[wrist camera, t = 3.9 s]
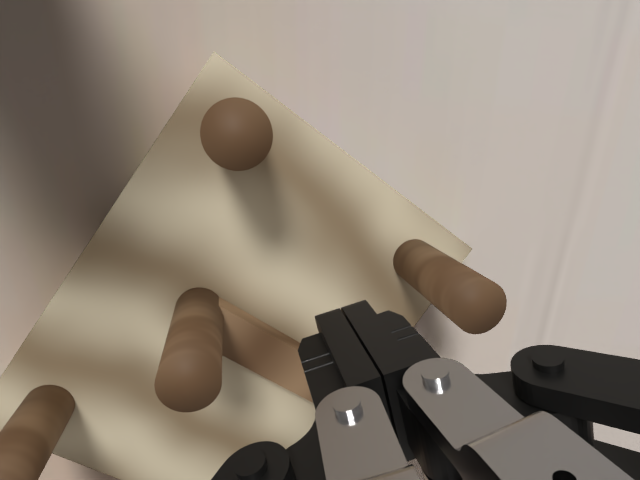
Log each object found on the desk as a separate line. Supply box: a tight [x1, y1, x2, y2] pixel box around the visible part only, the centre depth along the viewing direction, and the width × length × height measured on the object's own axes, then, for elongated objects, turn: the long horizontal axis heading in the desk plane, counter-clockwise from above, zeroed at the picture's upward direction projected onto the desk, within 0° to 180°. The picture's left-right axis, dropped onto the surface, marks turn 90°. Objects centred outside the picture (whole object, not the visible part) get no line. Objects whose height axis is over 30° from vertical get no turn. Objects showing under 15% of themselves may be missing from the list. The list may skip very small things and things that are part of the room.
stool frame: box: [0, 52, 506, 480], centre depth 22 cm, size 22×17×9 cm
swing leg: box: [154, 287, 313, 412], centre depth 21 cm, size 11×2×7 cm, turn 55°
